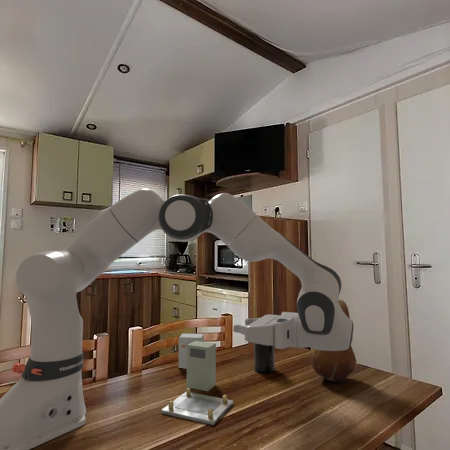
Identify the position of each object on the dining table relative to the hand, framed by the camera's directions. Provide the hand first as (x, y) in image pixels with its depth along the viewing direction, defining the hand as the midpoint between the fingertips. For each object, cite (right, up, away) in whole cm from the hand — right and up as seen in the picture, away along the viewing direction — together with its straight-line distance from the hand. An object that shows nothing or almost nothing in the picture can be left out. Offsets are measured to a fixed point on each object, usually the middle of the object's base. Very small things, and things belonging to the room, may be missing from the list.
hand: (240, 324), depth 94 cm
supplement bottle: (+9, -21, +17) cm, 28 cm away
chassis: (-11, -18, -11) cm, 24 cm away
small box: (-16, -21, +20) cm, 33 cm away
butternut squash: (+29, -20, +8) cm, 36 cm away
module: (-11, -19, +3) cm, 22 cm away
